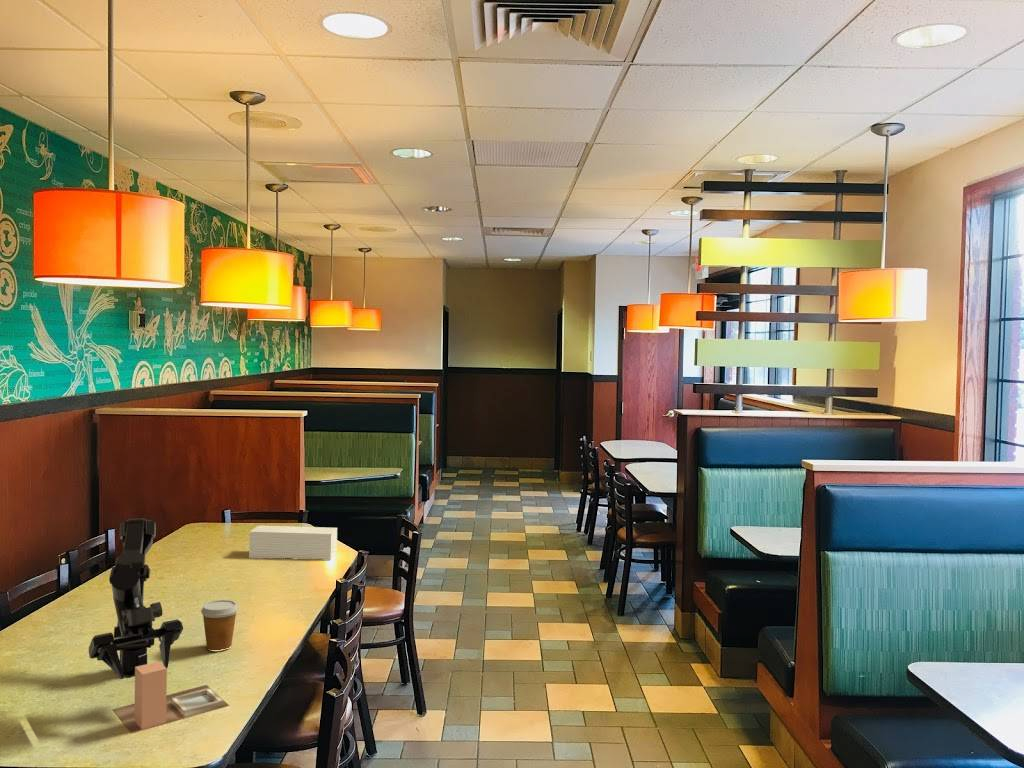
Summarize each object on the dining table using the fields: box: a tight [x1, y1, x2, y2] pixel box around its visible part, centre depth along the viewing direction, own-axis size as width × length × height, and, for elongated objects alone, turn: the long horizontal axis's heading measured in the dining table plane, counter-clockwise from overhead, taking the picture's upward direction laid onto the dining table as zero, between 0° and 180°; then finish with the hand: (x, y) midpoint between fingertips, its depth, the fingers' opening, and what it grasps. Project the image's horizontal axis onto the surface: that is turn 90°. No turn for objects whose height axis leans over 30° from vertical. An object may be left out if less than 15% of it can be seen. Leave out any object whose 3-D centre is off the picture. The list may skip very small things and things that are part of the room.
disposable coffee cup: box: [200, 599, 239, 650], centre depth 215 cm, size 10×10×12 cm
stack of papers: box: [248, 525, 338, 561], centre depth 312 cm, size 32×11×11 cm, turn 90°
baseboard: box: [112, 684, 230, 734], centre depth 177 cm, size 14×21×2 cm, turn 132°
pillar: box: [134, 661, 168, 731], centre depth 170 cm, size 5×5×12 cm
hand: (144, 673), depth 172 cm, fingers open, 9 cm apart
